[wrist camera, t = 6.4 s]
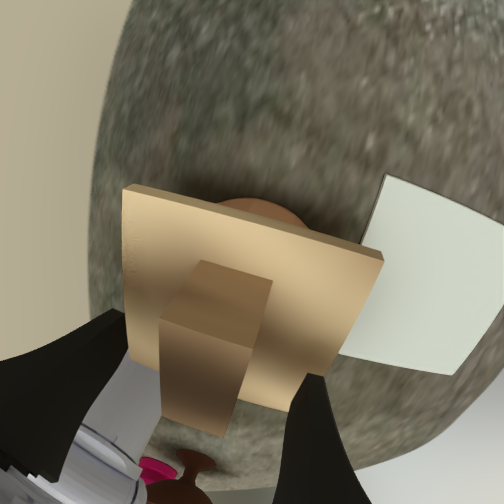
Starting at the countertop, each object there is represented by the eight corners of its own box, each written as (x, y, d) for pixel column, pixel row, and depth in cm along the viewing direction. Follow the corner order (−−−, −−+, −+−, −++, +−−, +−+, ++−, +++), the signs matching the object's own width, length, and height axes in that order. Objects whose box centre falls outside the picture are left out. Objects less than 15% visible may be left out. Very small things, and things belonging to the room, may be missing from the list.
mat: (451, 371, 18) (452, 375, 18) (315, 343, 19) (315, 347, 19) (532, 241, 12) (535, 243, 12) (385, 173, 13) (386, 175, 13)
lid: (301, 403, 15) (291, 470, 12) (136, 350, 16) (99, 404, 12) (380, 251, 11) (406, 328, 7) (133, 183, 11) (59, 224, 8)
